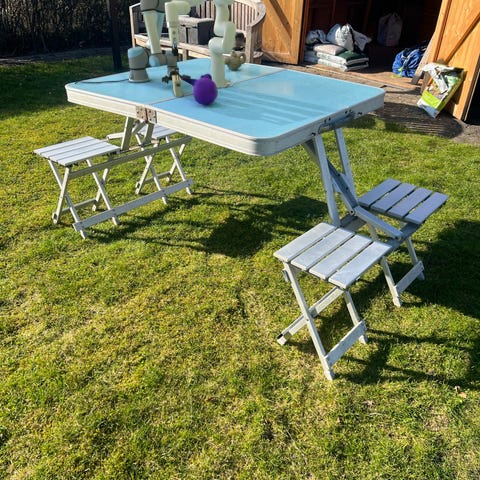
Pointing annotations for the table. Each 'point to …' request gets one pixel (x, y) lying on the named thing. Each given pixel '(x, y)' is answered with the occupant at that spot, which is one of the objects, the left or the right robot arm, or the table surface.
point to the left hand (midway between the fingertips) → (177, 81)
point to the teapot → (235, 60)
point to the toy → (204, 89)
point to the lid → (176, 76)
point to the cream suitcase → (177, 88)
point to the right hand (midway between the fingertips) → (175, 55)
